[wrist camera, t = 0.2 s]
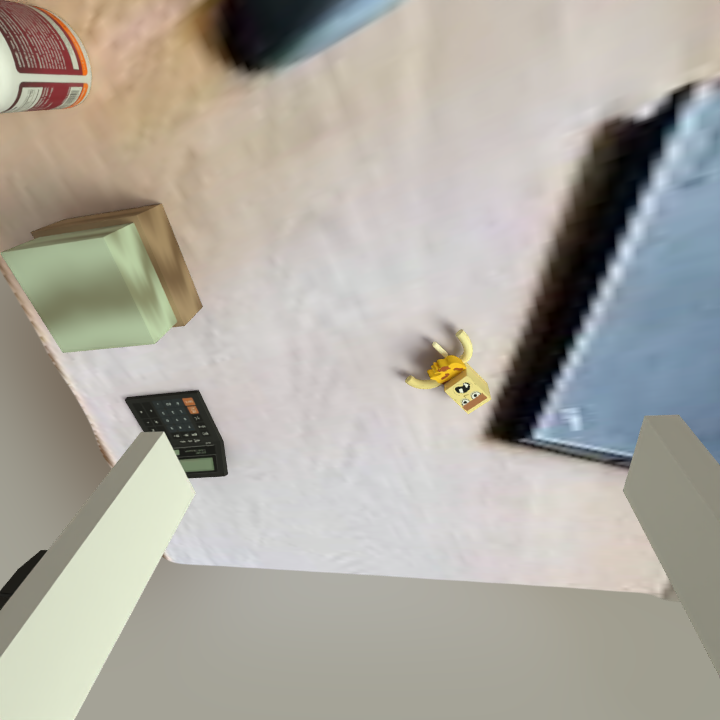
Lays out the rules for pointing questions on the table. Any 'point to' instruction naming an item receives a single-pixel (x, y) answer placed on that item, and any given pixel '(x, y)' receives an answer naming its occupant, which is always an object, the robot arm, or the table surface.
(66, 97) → the pill bottle
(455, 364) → the character toy
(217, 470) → the calculator
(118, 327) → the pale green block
